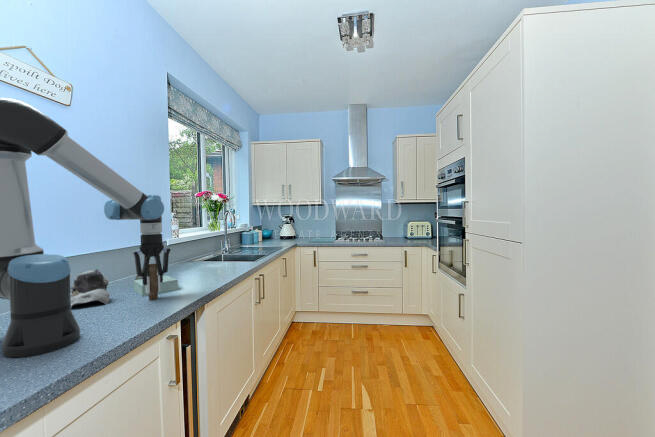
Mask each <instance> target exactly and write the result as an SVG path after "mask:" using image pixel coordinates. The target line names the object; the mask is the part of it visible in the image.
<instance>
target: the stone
mask: <svg viewBox="0 0 655 437" xmlns="http://www.w3.org/2000/svg"><path fill="white" fill-rule="evenodd" d="M101 272H102V271H100V270H99V269H92V270H91V269H90V270H86V271H83V272H80V273H79V274H77V275H76V276H75V278H74V280H73V284H72V285H71V286H70V295H71V309H72V308H73V307H75V306H77V305H81V304H86V303H91V301H92V302H97V301H98V300H99V301H98V302H101V303H103V304H105V305H107V304H109V303H110V296H111V295H110V292H108V290H107V289H108V286H109V280H108V279H107V277H105V276H104V275H103V274H102V273H101Z"/></svg>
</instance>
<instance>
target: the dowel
mask: <svg viewBox="0 0 655 437" xmlns="http://www.w3.org/2000/svg"><path fill="white" fill-rule="evenodd" d="M157 274H158V271H157V264H156V263H149V267H148V276H149V283H150V293H149V295H148V301H154V300H158V299H159V293H158V283H157Z"/></svg>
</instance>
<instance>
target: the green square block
mask: <svg viewBox="0 0 655 437" xmlns="http://www.w3.org/2000/svg"><path fill="white" fill-rule="evenodd" d="M178 280H179V279H177V278H174V277H172V276H169V275H167V274H166V275H163V282H161V283H160V291H159V292H158V294H162V293H168V292H173V291H177V290H179V283H178V282H179V281H178ZM133 283H134V284H133V291H134V292H135V293H137V294H138V293H139V294H138V295H140V296H141V297H145V296H149V293H146V285H143V280H142V279H139V280H135V279H133Z"/></svg>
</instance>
